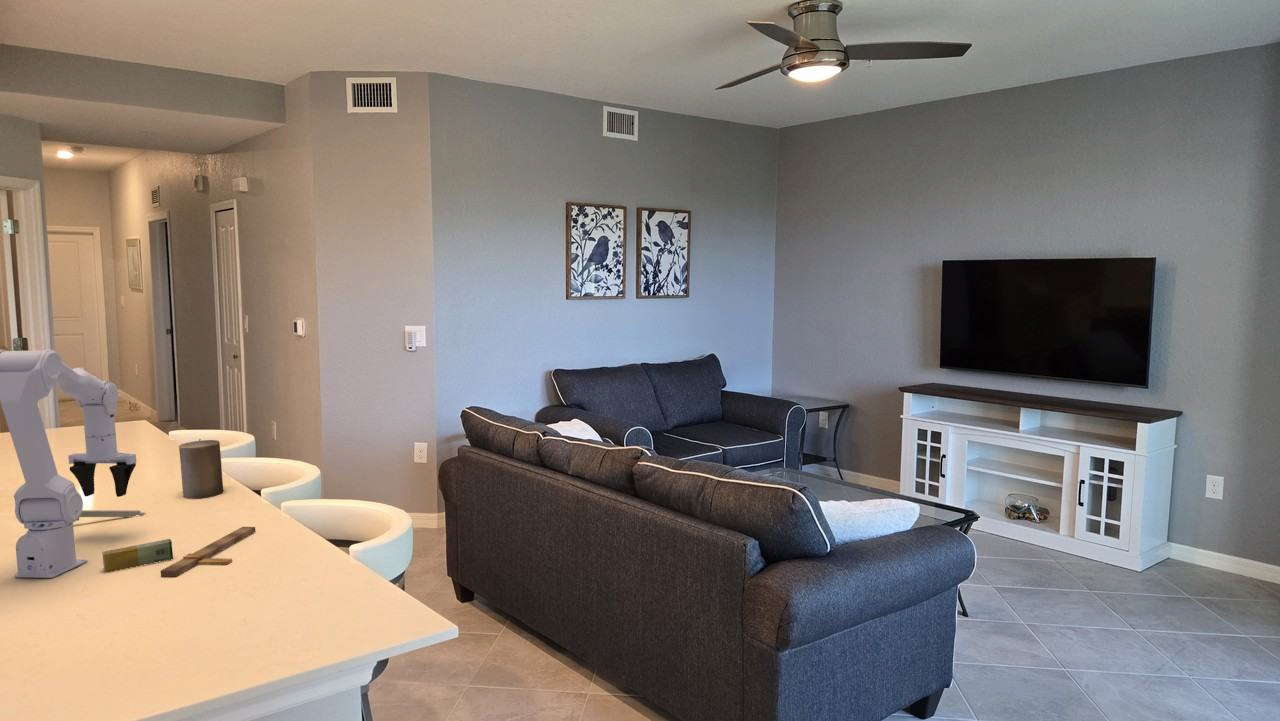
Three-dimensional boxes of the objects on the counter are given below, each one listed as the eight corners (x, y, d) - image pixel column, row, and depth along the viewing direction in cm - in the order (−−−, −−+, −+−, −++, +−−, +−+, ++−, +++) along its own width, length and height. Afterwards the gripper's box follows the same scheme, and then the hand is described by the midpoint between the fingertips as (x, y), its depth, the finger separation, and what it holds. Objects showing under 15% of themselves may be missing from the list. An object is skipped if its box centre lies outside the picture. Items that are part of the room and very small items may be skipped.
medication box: (171, 556, 173) (170, 538, 172) (174, 560, 170) (172, 540, 170) (103, 570, 165) (101, 550, 165) (104, 574, 163) (103, 554, 163)
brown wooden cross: (205, 577, 160) (204, 570, 159) (160, 576, 160) (159, 569, 160) (280, 532, 187) (280, 525, 187) (242, 531, 188) (242, 525, 188)
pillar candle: (231, 489, 226) (227, 435, 224) (209, 499, 216) (204, 442, 215) (197, 489, 227) (193, 435, 225) (174, 499, 217) (169, 442, 216)
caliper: (43, 532, 190) (41, 505, 190) (43, 531, 191) (41, 504, 191) (146, 515, 203) (144, 490, 202) (145, 514, 204) (143, 489, 203)
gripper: (143, 431, 187) (148, 491, 188) (83, 431, 188) (88, 490, 190) (121, 438, 180) (126, 499, 181) (58, 437, 181) (64, 498, 183)
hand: (105, 495), depth 185 cm, fingers open, 7 cm apart
